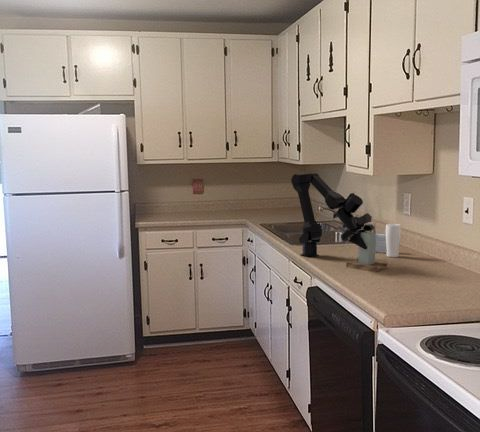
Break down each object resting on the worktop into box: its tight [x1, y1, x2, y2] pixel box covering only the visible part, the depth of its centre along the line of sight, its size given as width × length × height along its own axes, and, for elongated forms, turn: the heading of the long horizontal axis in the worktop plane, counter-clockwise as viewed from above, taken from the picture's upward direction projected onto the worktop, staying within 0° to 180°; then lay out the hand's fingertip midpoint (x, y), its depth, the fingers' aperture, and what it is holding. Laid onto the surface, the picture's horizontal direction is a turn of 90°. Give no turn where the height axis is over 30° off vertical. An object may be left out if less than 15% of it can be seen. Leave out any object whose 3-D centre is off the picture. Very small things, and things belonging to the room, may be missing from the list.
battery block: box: [357, 231, 377, 265], centre depth 231 cm, size 5×5×14 cm
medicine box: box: [375, 233, 387, 254], centre depth 264 cm, size 8×4×9 cm, turn 64°
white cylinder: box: [385, 223, 402, 258], centre depth 253 cm, size 7×7×15 cm
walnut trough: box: [345, 258, 388, 273], centre depth 232 cm, size 14×10×2 cm
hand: (369, 248), depth 230 cm, fingers closed on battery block, 5 cm apart
